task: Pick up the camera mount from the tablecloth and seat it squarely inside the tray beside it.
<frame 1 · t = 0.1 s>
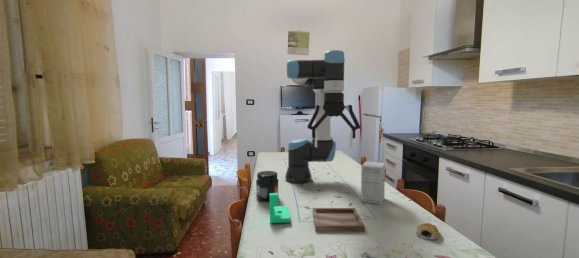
hand: (333, 146, 111), 28 cm above the table, fingers open, 13 cm apart
supplement box: (372, 200, 131), on the table
tray: (336, 221, 108), on the table
camera mount: (279, 218, 112), on the table
pastry: (427, 235, 98), on the table
supplement container: (267, 198, 134), on the table
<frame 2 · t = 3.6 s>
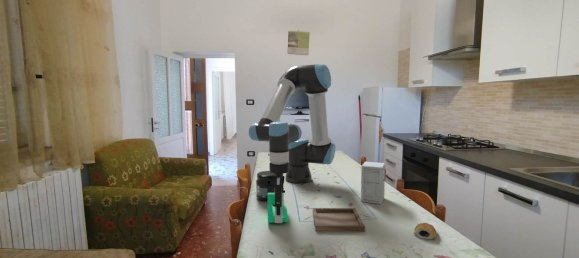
hand: (279, 215, 112), 1 cm above the table, fingers closed on camera mount, 12 cm apart
camera mount: (277, 218, 112), on the table, touching gripper
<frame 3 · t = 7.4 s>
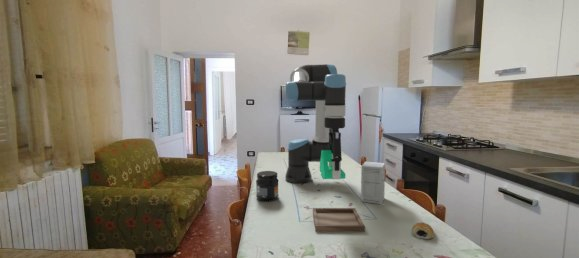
hand: (334, 174, 106), 19 cm above the table, fingers closed on camera mount, 12 cm apart
camera mount: (332, 177, 106), point 17 cm above the table, touching gripper
when the fingers open (4 cm above the table, at t = 11.3 s): camera mount drops 2 cm, resting on tray.
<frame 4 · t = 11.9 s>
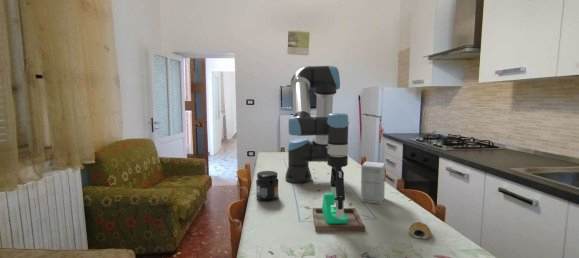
hand: (336, 209, 108), 5 cm above the table, fingers open, 13 cm apart
camera mount: (334, 219, 108), point 1 cm above the table, touching tray
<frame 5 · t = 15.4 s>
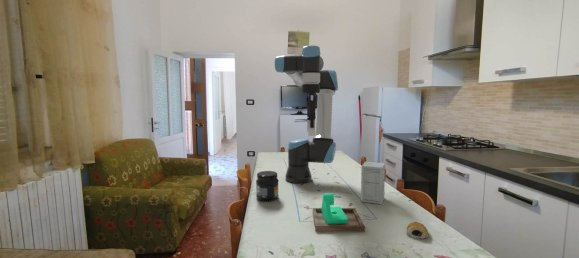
hand: (310, 133, 122), 32 cm above the table, fingers open, 13 cm apart
at the end: camera mount 1.0 cm from the tray (horizontally); camera mount tilted 0°; camera mount touching tray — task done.
